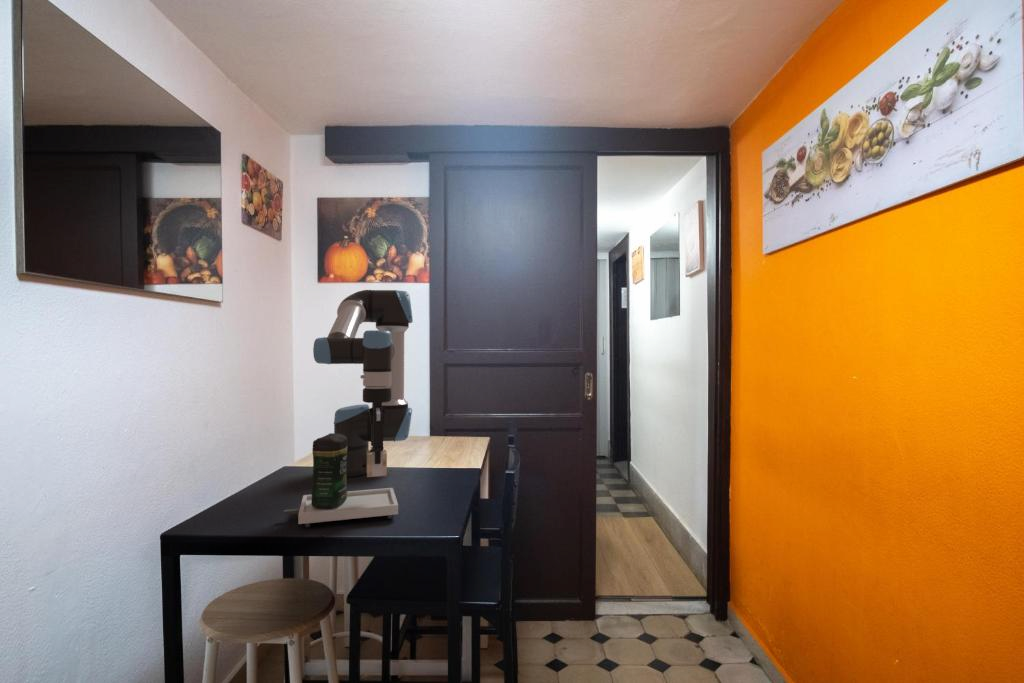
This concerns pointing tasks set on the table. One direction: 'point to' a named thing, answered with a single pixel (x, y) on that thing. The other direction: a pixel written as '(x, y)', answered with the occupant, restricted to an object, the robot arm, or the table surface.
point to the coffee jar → (329, 471)
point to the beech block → (369, 464)
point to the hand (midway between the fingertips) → (376, 472)
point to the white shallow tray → (349, 507)
